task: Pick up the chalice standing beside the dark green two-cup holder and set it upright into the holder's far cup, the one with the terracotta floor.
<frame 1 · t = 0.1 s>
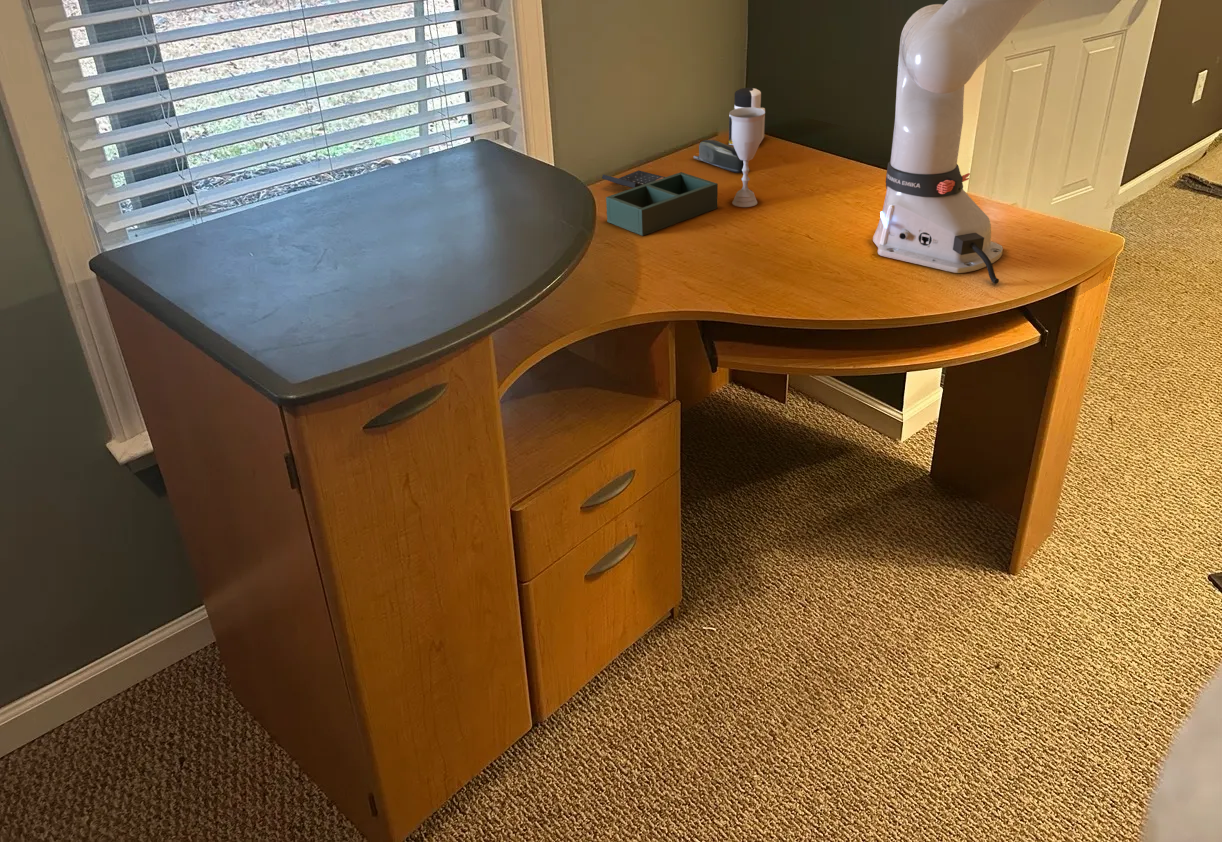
medicine bottle: (746, 142, 233), on the table
chalice: (744, 203, 199), on the table
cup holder: (662, 215, 195), on the table
stapler: (719, 166, 219), on the table
calculator: (636, 186, 210), on the table
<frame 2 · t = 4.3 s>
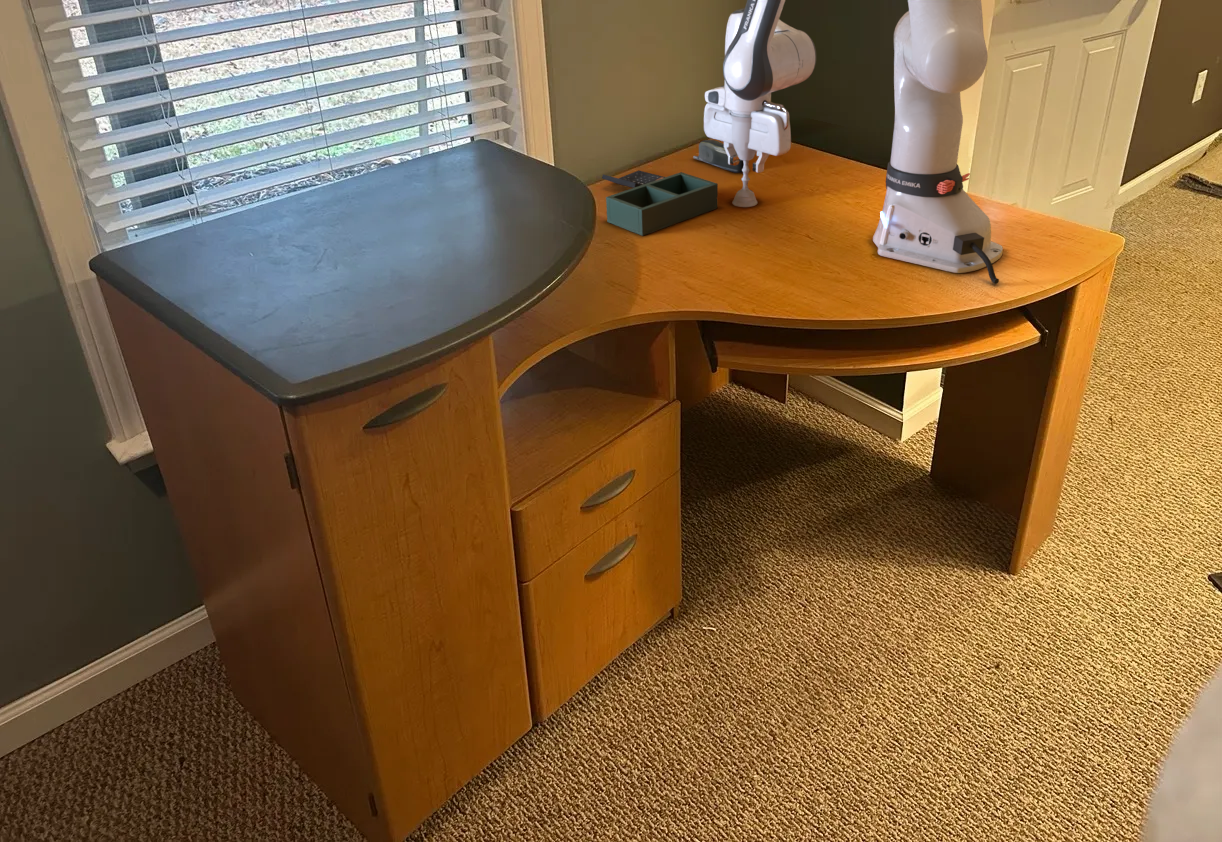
hand: (745, 168, 195), 7 cm above the table, tool pointing down, fingers closed on chalice, 5 cm apart
chalice: (744, 203, 199), on the table, touching gripper
everything else where it was.
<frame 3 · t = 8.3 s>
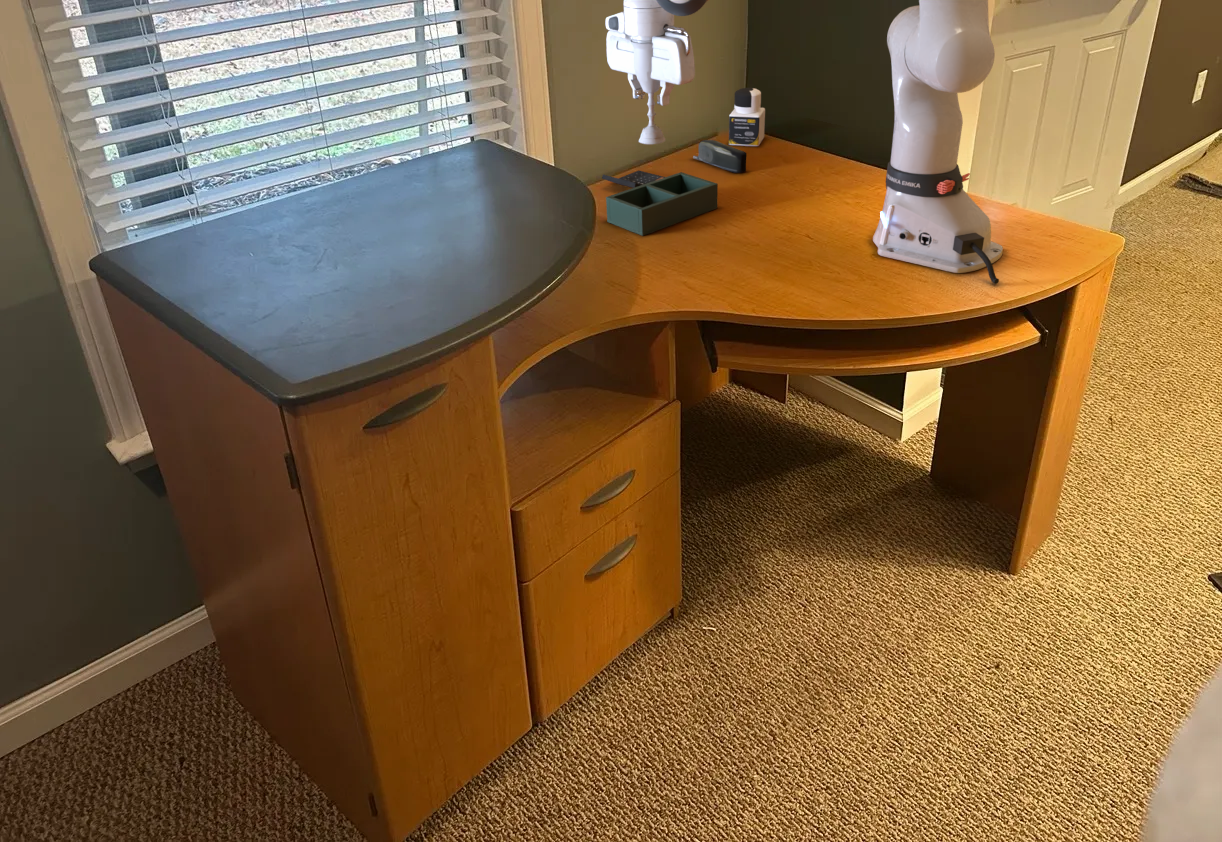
hand: (650, 101, 181), 23 cm above the table, tool pointing down, fingers closed on chalice, 5 cm apart
chalice: (652, 141, 185), point 15 cm above the table, touching gripper
everything else where it was.
when the fingers open (8 cm above the table, at t = 12.1 s): chalice stays where it is, resting on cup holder.
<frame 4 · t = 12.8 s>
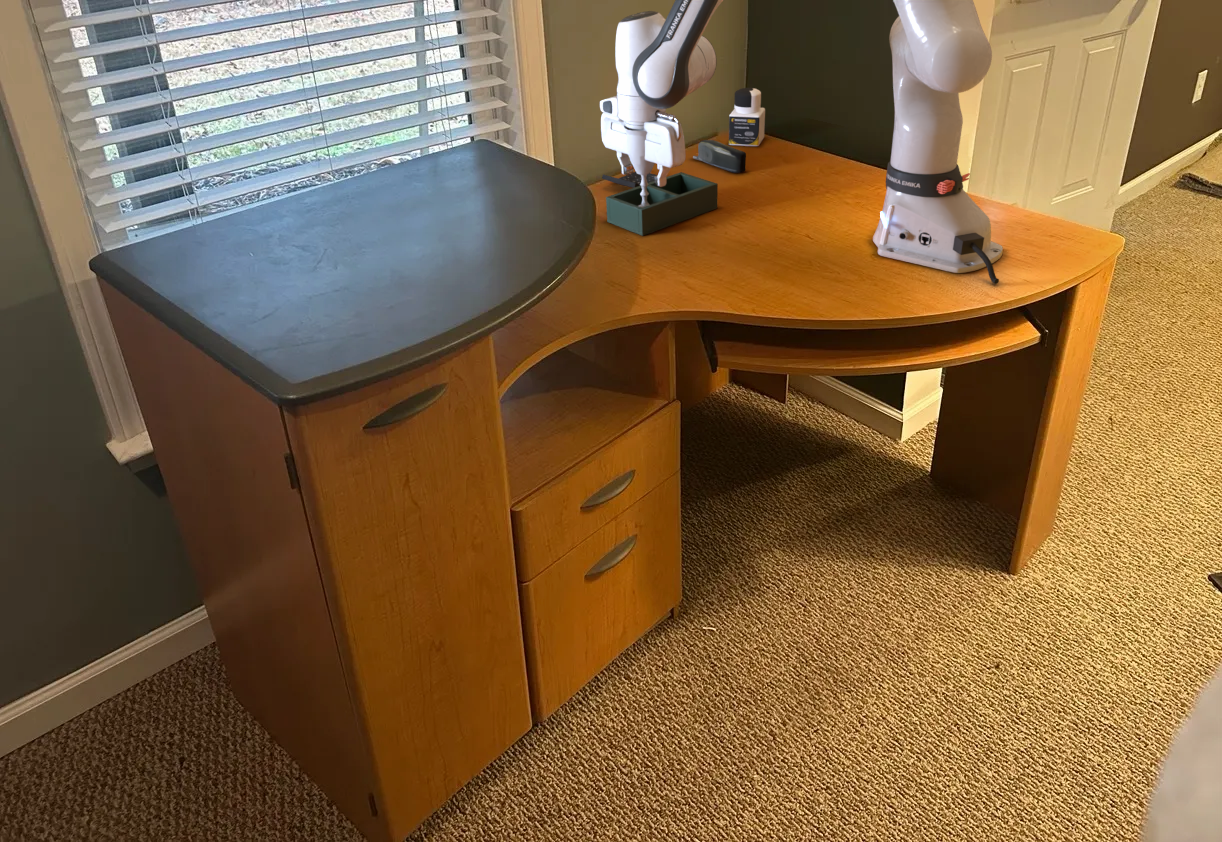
hand: (643, 179, 188), 8 cm above the table, tool pointing down, fingers open, 8 cm apart
chalice: (645, 218, 192), point 1 cm above the table, touching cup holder
everything else where it was.
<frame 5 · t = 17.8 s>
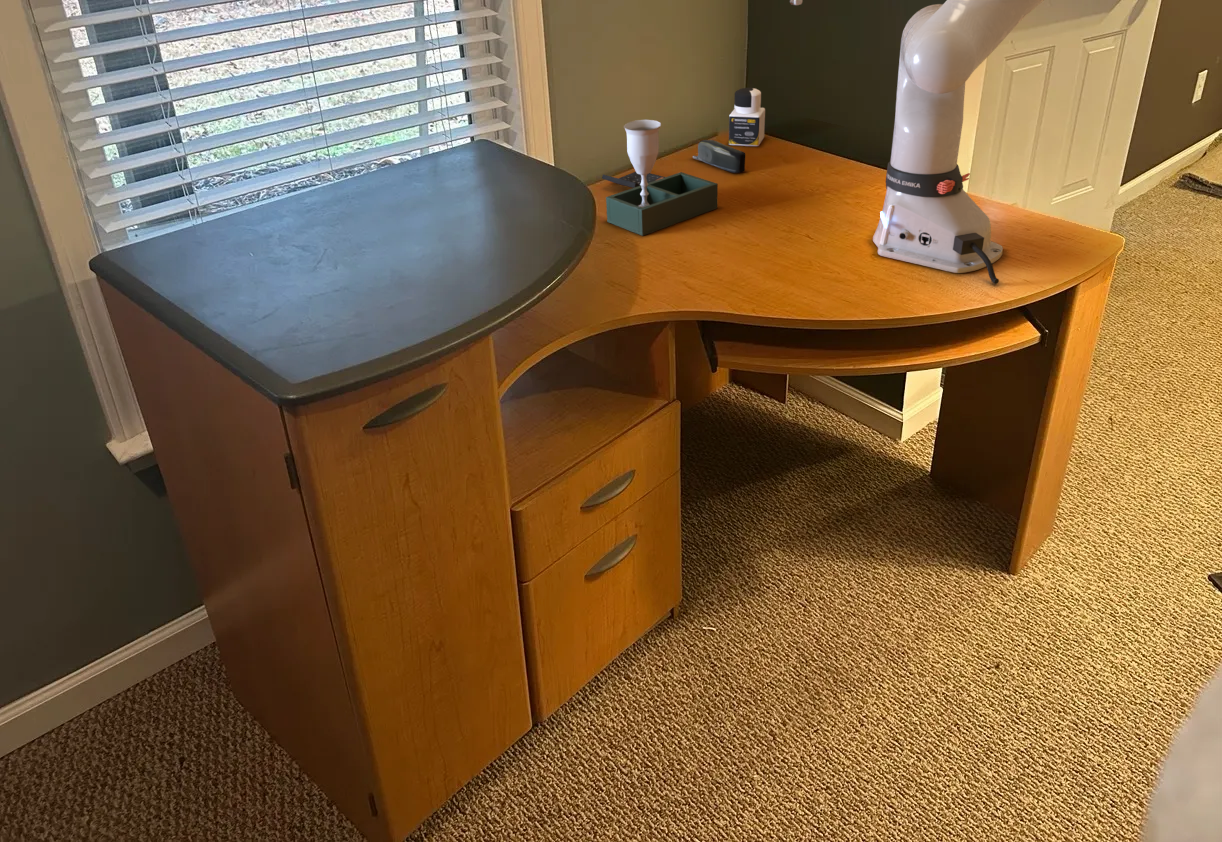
hand: (776, 1, 181), 37 cm above the table, tool pointing down, fingers open, 8 cm apart
nothing on the table moved.
at the end: chalice 0.1 cm from the target spot in the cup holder, point 0.6 cm above the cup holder's base; chalice tilted 0°; the gripper is holding nothing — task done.
